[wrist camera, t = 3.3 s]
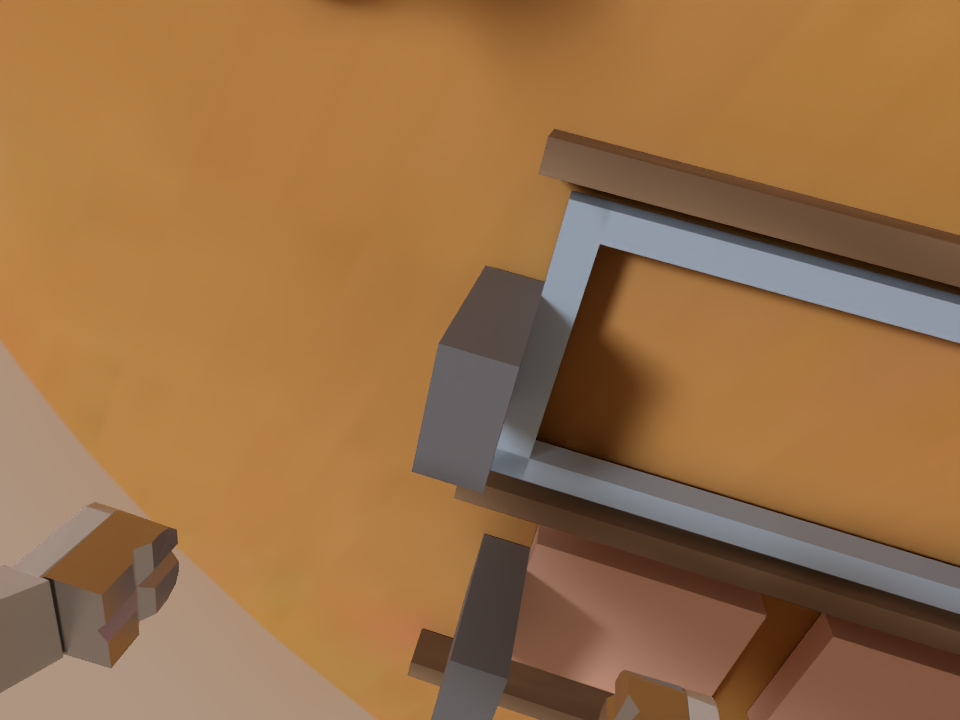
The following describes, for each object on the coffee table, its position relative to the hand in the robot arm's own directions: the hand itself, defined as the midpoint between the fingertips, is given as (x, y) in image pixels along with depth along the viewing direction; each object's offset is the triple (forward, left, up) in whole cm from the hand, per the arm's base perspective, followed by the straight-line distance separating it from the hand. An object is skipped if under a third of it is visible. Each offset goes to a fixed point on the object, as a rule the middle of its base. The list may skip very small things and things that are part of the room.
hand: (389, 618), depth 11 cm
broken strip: (+11, +13, -12) cm, 21 cm away
